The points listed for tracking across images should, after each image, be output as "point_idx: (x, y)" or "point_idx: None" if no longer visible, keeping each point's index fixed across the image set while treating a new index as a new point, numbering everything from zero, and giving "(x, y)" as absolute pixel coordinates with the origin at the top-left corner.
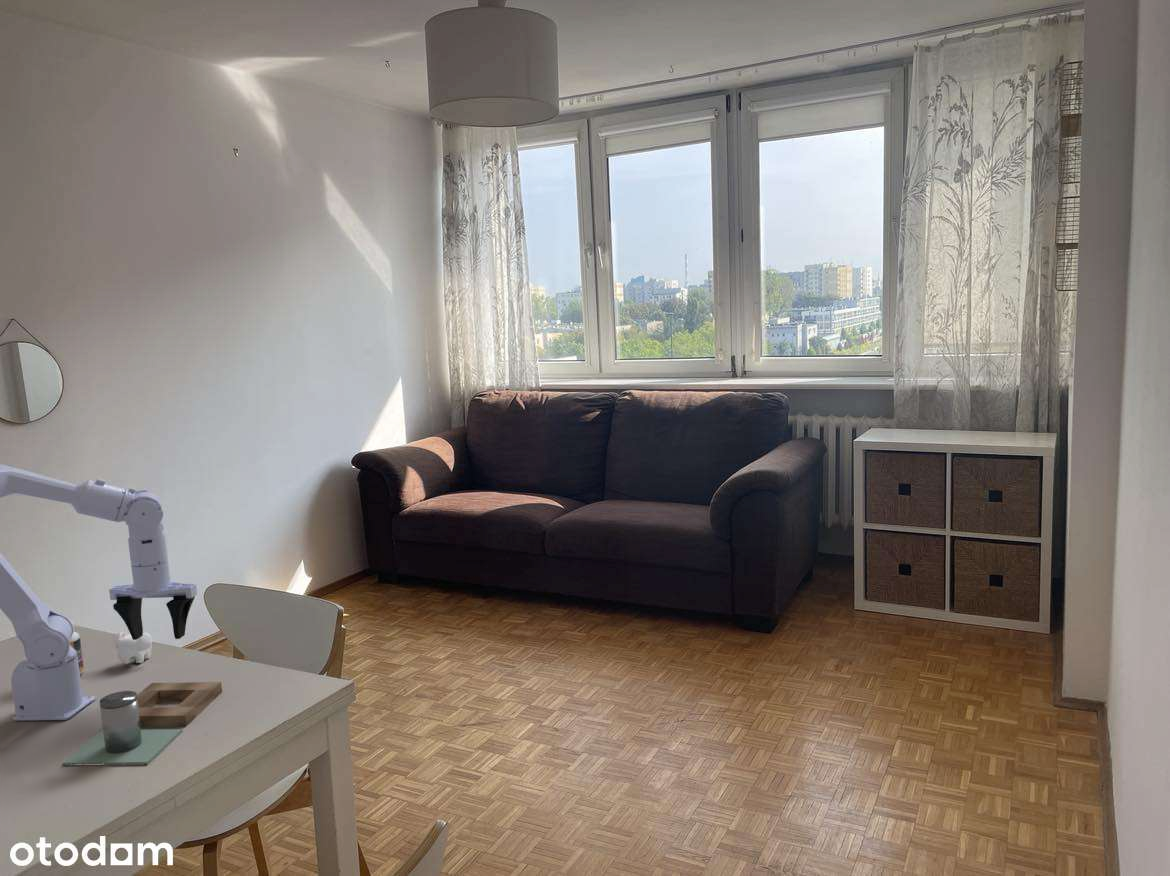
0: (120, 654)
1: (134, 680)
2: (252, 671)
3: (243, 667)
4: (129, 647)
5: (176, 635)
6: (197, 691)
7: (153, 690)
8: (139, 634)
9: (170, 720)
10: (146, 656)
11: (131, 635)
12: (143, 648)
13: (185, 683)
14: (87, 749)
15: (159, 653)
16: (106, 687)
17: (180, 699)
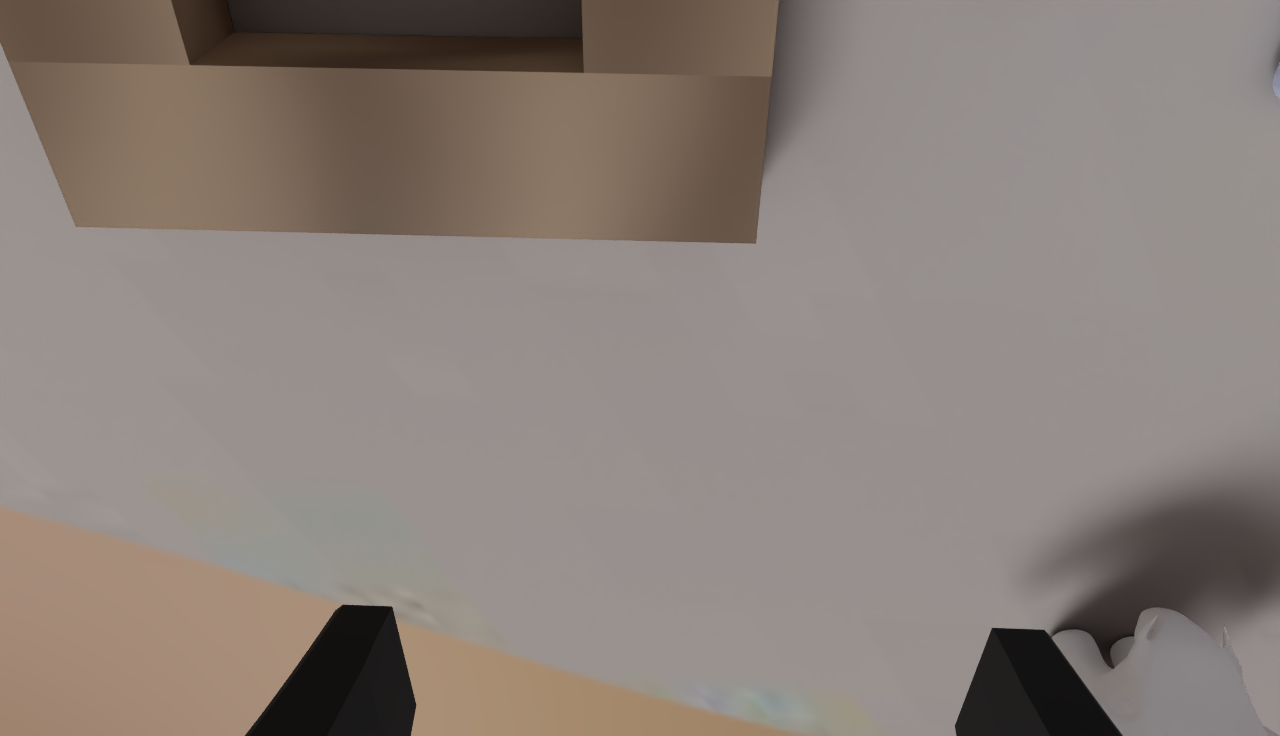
0: (1221, 669)
1: (1013, 417)
2: (172, 487)
3: (286, 540)
4: (1166, 722)
5: (332, 645)
6: (135, 19)
7: (647, 73)
8: (981, 723)
9: None
10: None
11: (1079, 685)
12: None
13: (406, 214)
14: None
15: None
16: (1218, 320)
17: (393, 37)
